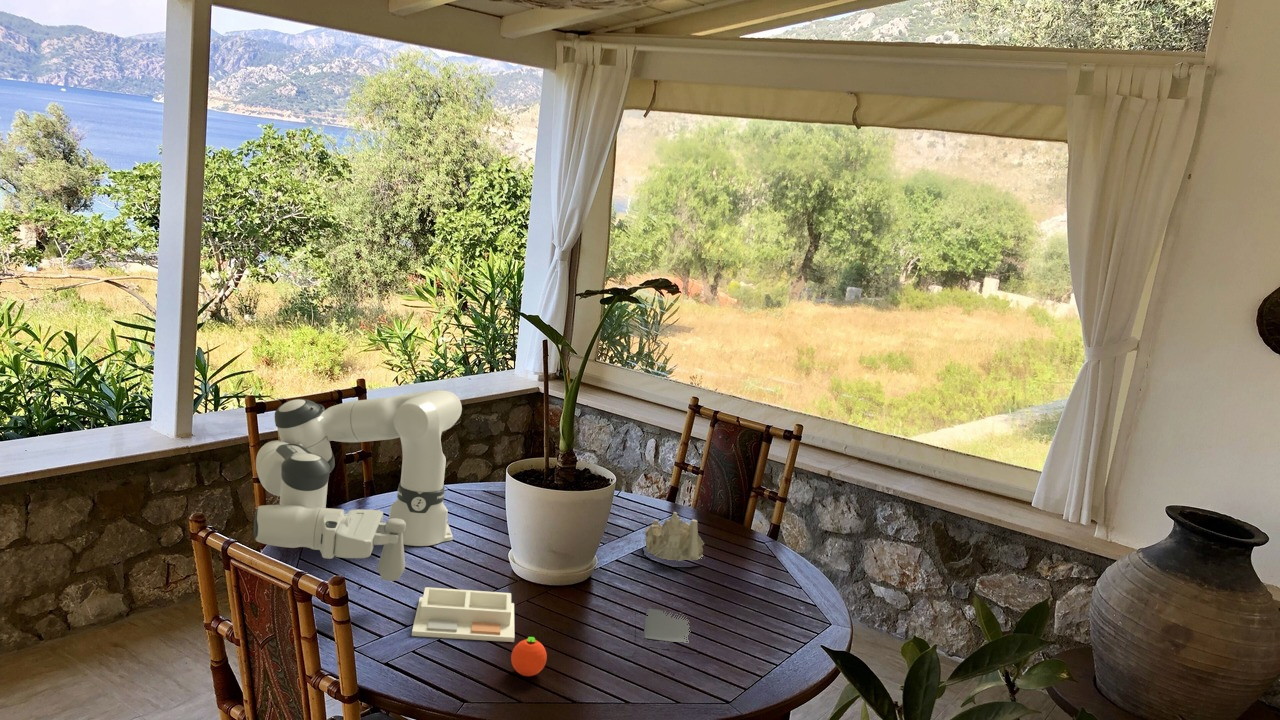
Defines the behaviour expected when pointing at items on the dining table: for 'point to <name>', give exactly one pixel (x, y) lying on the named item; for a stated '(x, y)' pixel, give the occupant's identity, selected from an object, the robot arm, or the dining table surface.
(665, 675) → the dining table surface
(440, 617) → the divided organizer tray
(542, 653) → the clementine
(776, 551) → the dining table surface
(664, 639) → the wallet
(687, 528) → the sand castle
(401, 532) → the salt shaker
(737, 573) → the dining table surface
